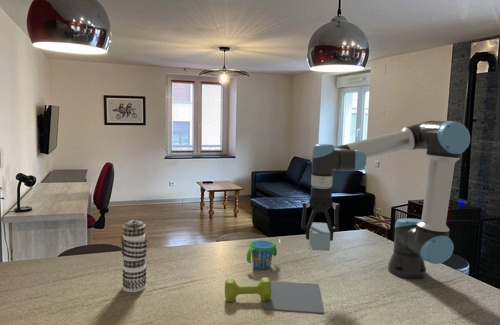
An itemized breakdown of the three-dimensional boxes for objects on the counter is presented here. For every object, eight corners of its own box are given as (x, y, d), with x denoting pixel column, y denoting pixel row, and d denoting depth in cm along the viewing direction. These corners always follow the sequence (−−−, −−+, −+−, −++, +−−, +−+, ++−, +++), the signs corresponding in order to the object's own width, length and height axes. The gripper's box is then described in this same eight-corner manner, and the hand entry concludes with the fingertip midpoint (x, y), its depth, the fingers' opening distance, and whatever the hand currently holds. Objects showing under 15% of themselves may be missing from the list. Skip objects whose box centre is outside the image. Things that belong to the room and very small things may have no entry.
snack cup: (269, 259, 174) (269, 237, 173) (283, 267, 165) (284, 244, 164) (240, 266, 166) (240, 243, 164) (253, 274, 157) (254, 250, 156)
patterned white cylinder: (120, 283, 145) (120, 219, 142) (146, 280, 149) (145, 217, 146) (122, 294, 137) (121, 226, 134) (148, 290, 140) (148, 224, 137)
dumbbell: (269, 293, 139) (270, 274, 139) (272, 303, 132) (272, 283, 131) (224, 294, 138) (224, 275, 138) (224, 305, 131) (224, 285, 130)
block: (312, 233, 133) (310, 222, 146) (312, 249, 133) (309, 237, 147) (330, 234, 132) (326, 223, 146) (329, 250, 133) (325, 238, 147)
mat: (318, 285, 149) (318, 284, 149) (324, 313, 127) (324, 312, 127) (267, 281, 150) (267, 280, 150) (264, 309, 129) (264, 308, 129)
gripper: (295, 187, 136) (293, 250, 138) (349, 189, 134) (346, 253, 137) (295, 183, 143) (292, 243, 146) (346, 185, 141) (343, 246, 144)
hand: (318, 248), depth 141 cm, fingers closed on block, 6 cm apart
